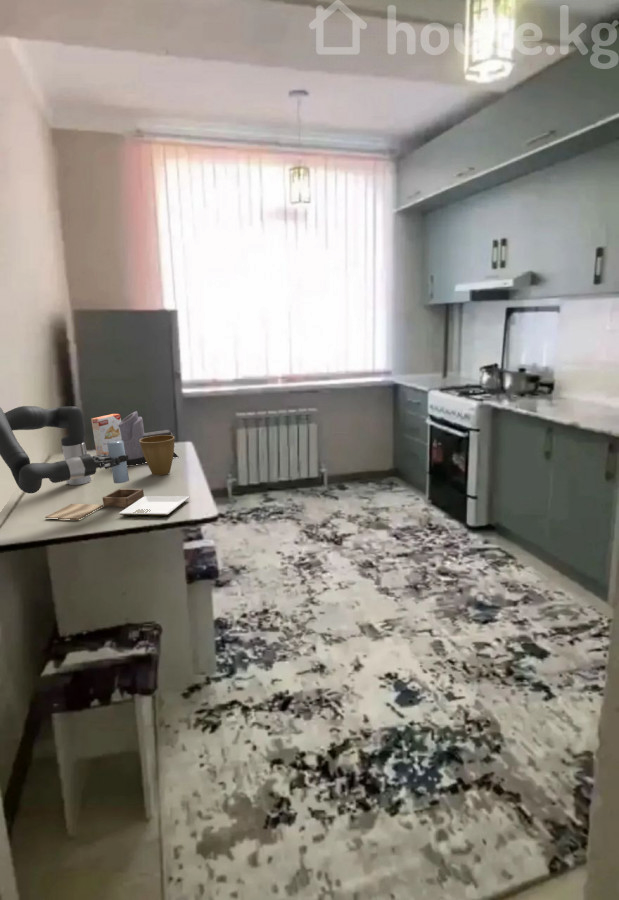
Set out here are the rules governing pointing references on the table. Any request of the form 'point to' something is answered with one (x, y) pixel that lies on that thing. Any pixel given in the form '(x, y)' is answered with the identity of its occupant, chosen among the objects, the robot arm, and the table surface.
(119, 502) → the holder
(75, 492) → the table surface
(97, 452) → the cracker box
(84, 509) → the wooden board
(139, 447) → the grey boots
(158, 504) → the plate
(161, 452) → the plant pot
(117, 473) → the cylinder
